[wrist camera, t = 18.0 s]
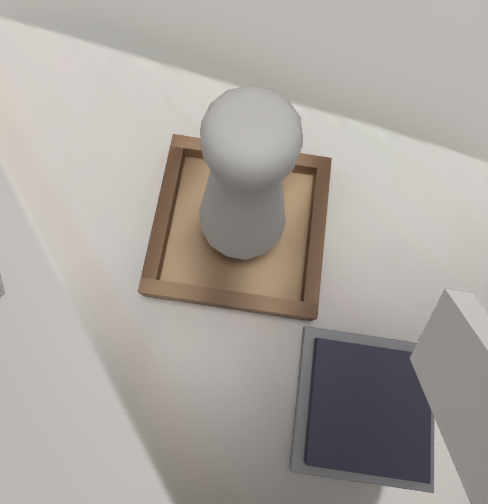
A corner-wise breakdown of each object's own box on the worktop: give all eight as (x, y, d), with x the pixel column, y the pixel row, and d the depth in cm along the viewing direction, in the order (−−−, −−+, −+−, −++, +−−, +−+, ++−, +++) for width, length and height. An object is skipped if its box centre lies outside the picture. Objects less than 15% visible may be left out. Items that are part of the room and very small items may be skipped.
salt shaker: (264, 278, 26) (298, 213, 13) (189, 249, 26) (153, 158, 13) (291, 207, 27) (344, 87, 15) (220, 181, 27) (213, 40, 15)
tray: (325, 168, 29) (331, 157, 27) (311, 320, 26) (317, 318, 24) (176, 146, 29) (172, 134, 27) (143, 295, 26) (137, 291, 24)
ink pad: (430, 345, 25) (442, 345, 24) (428, 489, 23) (442, 498, 22) (303, 326, 25) (308, 325, 24) (289, 468, 23) (293, 476, 22)
